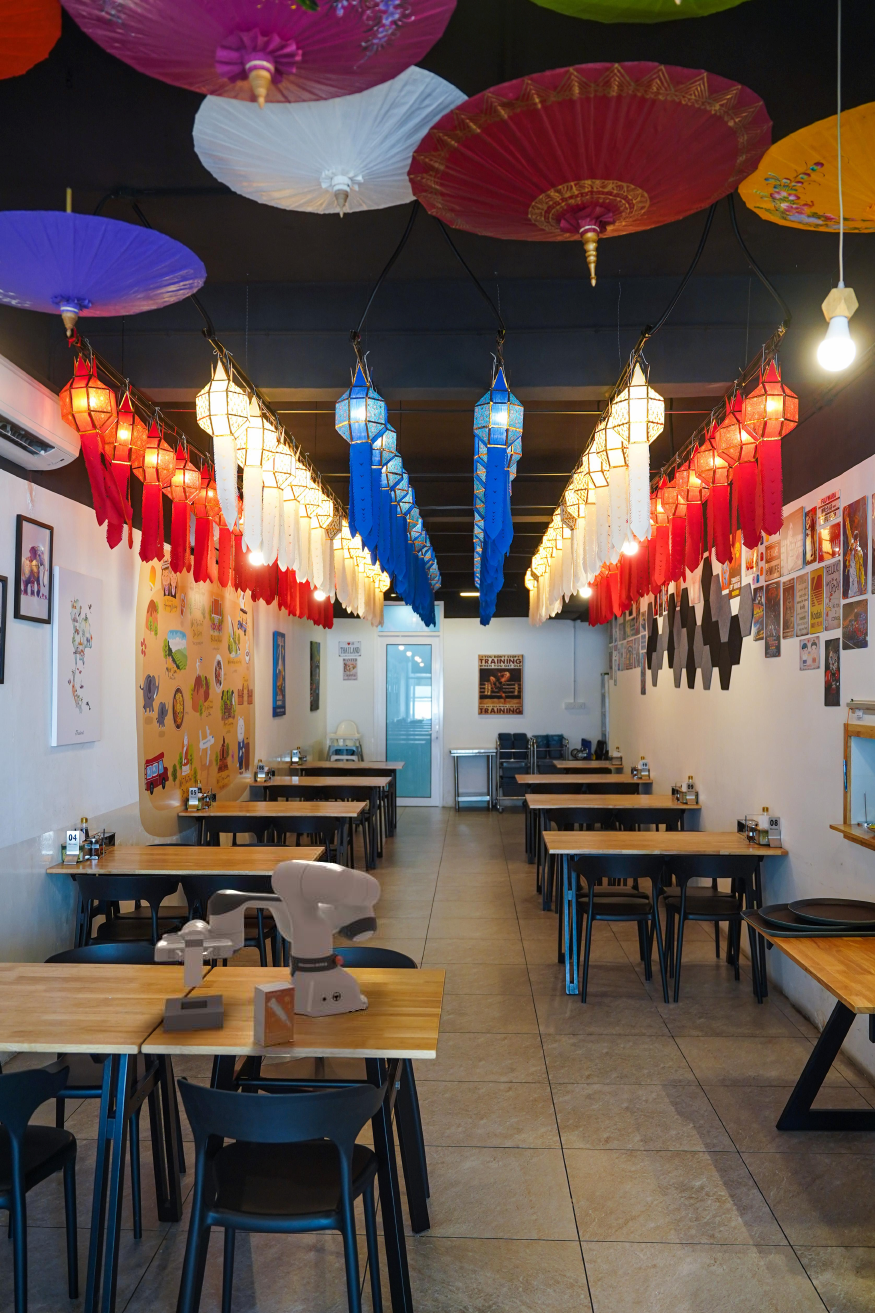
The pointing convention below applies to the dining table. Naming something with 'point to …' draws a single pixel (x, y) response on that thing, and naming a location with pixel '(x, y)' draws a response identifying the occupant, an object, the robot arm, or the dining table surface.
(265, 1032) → the small box
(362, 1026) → the dining table surface
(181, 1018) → the socket block
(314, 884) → the robot arm
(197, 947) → the plug
